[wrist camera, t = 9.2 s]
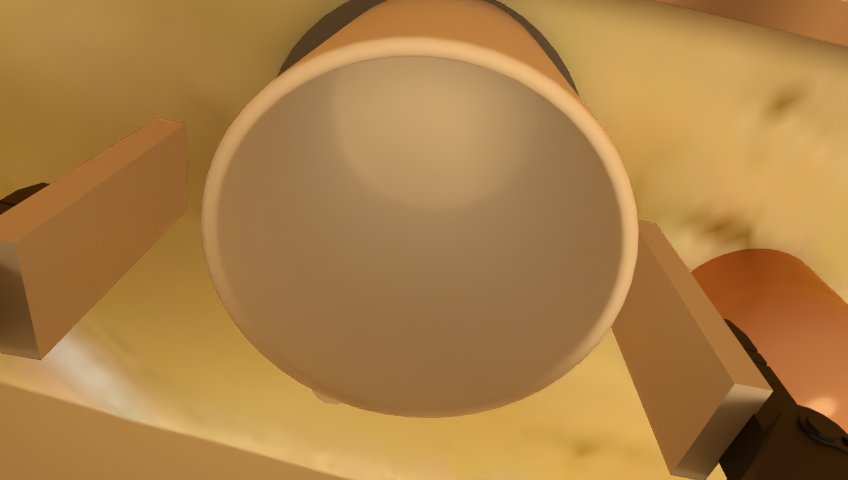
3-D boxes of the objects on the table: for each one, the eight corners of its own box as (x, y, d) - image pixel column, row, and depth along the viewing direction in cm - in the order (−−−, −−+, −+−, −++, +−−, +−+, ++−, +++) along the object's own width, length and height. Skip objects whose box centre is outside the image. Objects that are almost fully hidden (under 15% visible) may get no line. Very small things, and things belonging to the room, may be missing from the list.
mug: (442, 312, 23) (432, 542, 14) (264, 237, 22) (130, 441, 13) (600, 58, 18) (743, 176, 9) (374, -63, 16) (271, -68, 7)
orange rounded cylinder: (639, 350, 25) (698, 485, 19) (703, 234, 21) (799, 349, 15) (768, 377, 25) (868, 517, 19) (850, 266, 22) (1001, 391, 16)
